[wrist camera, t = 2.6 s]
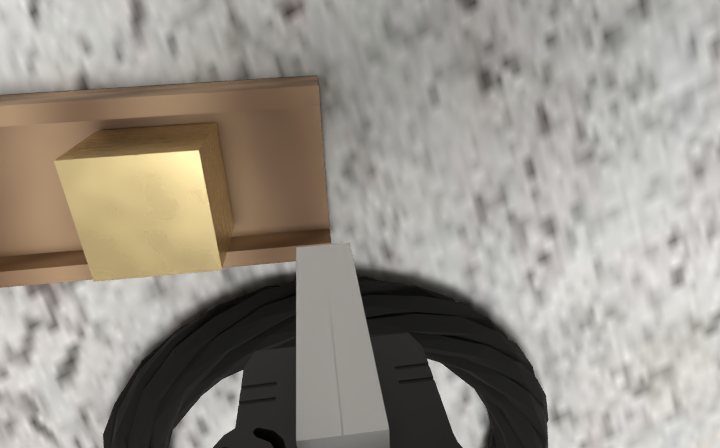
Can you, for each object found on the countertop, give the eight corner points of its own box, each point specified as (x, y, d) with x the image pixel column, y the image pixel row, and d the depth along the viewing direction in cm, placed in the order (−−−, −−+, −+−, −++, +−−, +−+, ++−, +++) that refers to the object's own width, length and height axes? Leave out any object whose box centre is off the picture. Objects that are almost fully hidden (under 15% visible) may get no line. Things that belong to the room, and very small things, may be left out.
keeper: (216, 122, 21) (198, 150, 18) (234, 226, 23) (221, 269, 20) (96, 130, 21) (53, 160, 17) (126, 235, 23) (93, 281, 19)
